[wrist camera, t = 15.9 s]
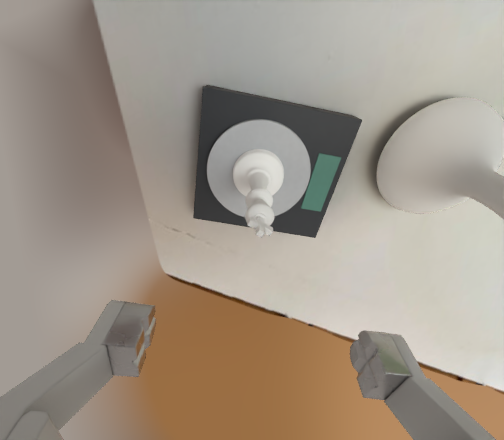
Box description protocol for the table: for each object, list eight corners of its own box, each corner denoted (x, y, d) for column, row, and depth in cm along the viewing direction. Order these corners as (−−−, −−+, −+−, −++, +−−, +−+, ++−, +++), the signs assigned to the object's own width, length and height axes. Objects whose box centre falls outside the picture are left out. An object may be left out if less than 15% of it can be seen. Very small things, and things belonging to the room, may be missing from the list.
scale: (197, 208, 29) (192, 221, 27) (207, 84, 22) (201, 86, 20) (311, 227, 30) (316, 241, 28) (353, 115, 24) (365, 121, 21)
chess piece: (267, 205, 25) (273, 273, 17) (224, 183, 24) (207, 245, 16) (294, 164, 23) (317, 221, 15) (248, 138, 22) (244, 183, 13)
